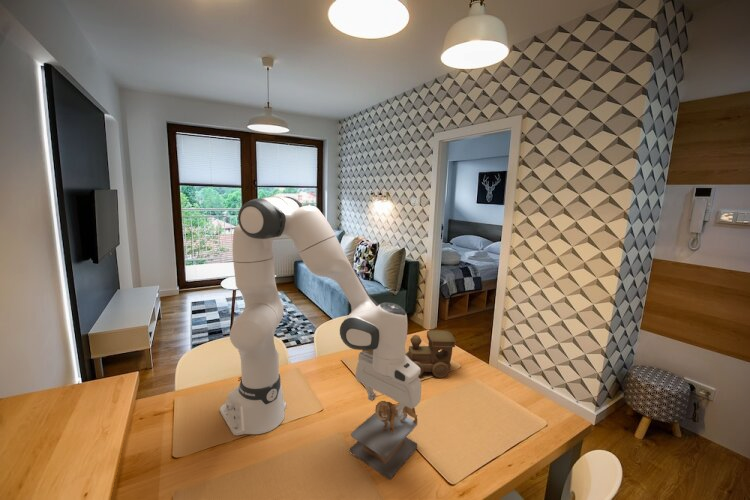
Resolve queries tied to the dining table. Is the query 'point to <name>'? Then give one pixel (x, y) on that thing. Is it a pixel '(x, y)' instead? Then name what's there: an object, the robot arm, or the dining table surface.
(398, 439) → the stand
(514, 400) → the dining table surface
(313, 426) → the dining table surface
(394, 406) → the lion figurine
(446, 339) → the wooden toy train
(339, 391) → the dining table surface
